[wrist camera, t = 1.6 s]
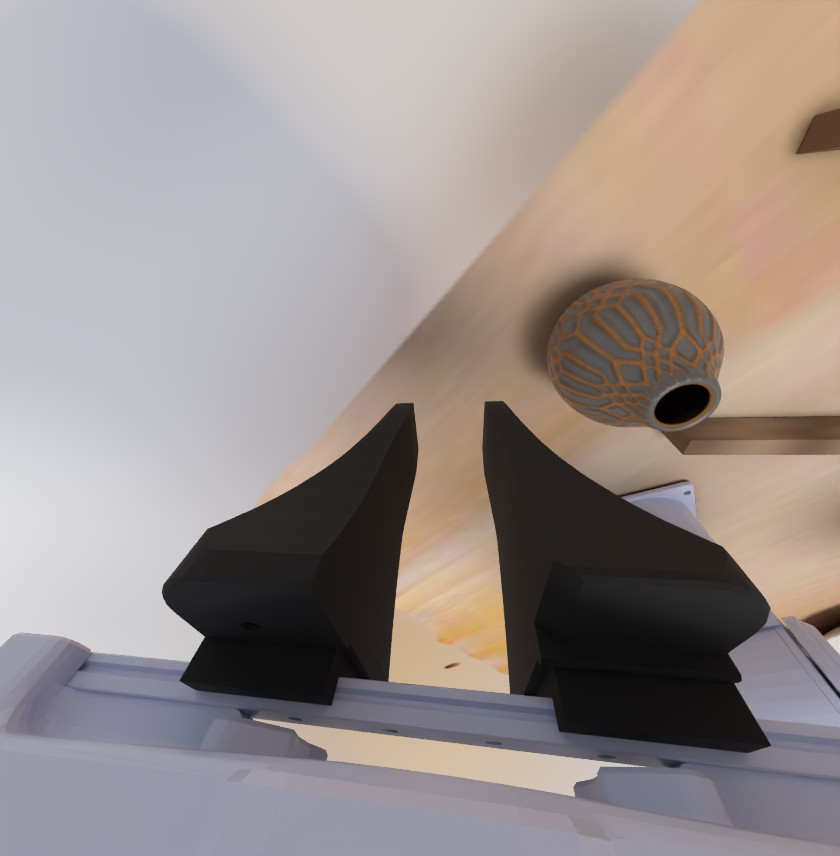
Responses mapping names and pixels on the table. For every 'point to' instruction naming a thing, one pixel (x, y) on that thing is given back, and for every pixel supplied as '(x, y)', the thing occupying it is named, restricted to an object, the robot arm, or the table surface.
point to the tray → (771, 431)
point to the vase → (638, 356)
